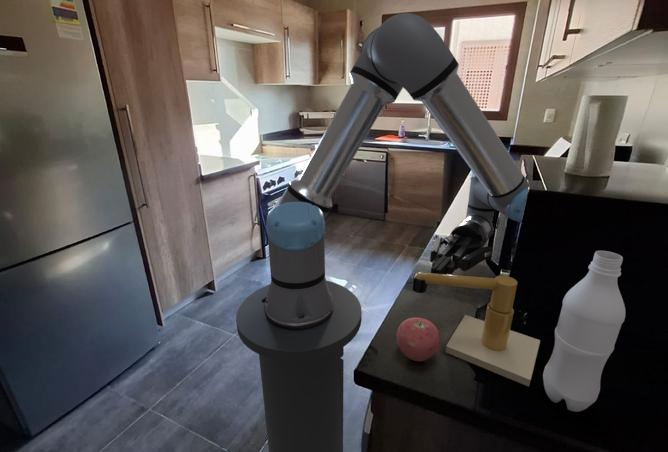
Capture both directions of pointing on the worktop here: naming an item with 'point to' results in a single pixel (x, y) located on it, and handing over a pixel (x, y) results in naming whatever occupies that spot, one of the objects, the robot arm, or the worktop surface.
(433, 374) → the worktop surface
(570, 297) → the water bottle
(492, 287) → the nozzle
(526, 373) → the tap stand
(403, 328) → the apple
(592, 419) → the worktop surface
